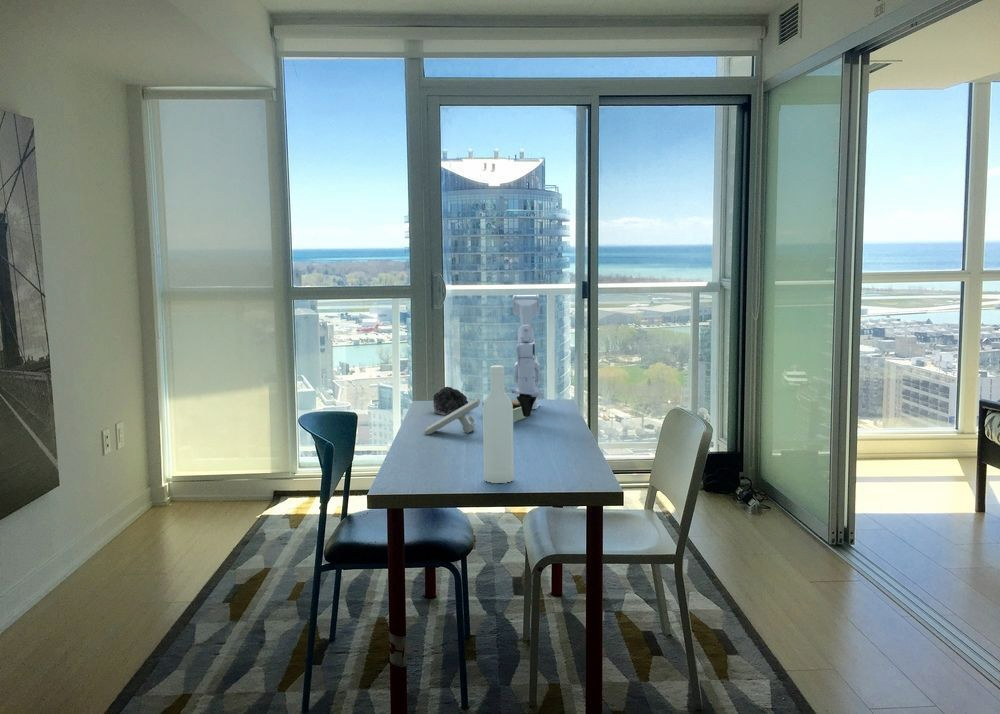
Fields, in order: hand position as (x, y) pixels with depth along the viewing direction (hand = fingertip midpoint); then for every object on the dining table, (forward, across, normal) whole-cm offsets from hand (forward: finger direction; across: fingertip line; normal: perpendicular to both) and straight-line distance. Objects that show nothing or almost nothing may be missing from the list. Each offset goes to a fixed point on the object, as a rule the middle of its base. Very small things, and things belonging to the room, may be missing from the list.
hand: (526, 416), depth 283 cm
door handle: (+3, -10, -24) cm, 26 cm away
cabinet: (+2, -14, +4) cm, 15 cm away
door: (+2, -3, -2) cm, 4 cm away
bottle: (+2, +46, -54) cm, 72 cm away
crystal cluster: (+3, -34, -6) cm, 35 cm away
